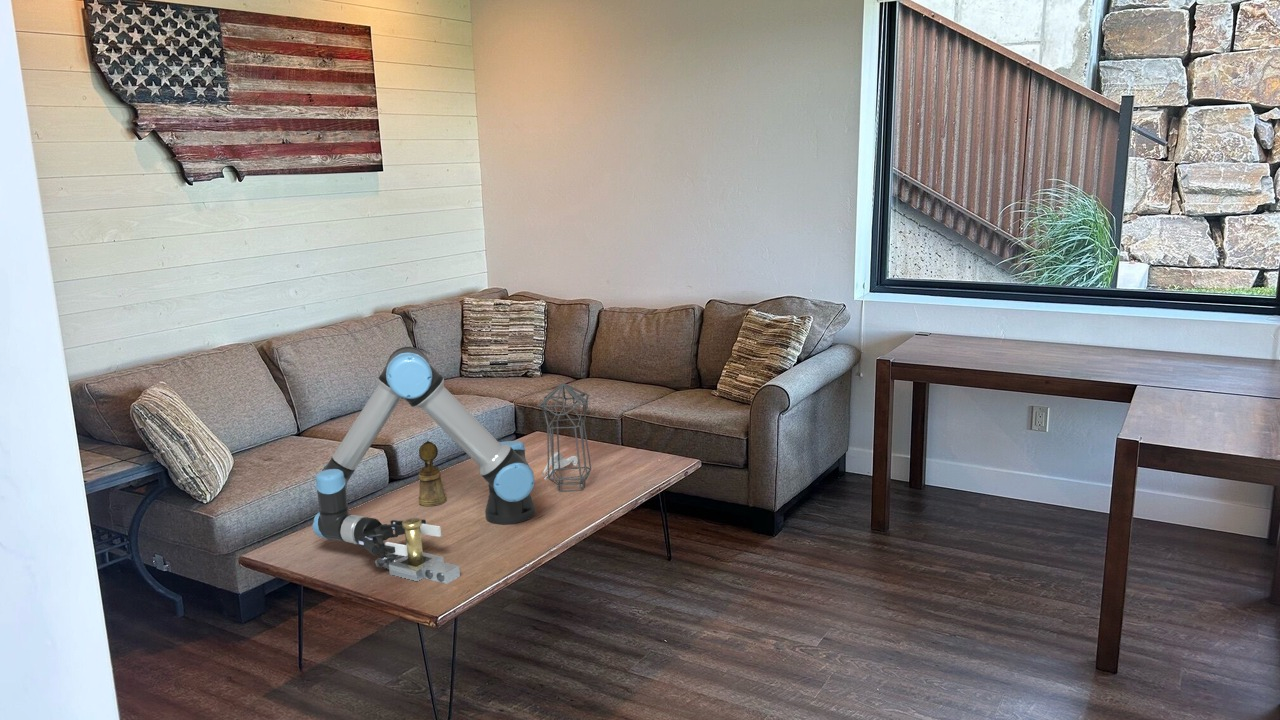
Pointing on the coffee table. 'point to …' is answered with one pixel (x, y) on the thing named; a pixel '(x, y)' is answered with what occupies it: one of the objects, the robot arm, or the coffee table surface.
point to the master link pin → (413, 541)
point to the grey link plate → (420, 568)
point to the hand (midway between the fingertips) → (423, 540)
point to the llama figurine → (562, 462)
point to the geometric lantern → (585, 403)
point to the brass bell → (430, 477)
